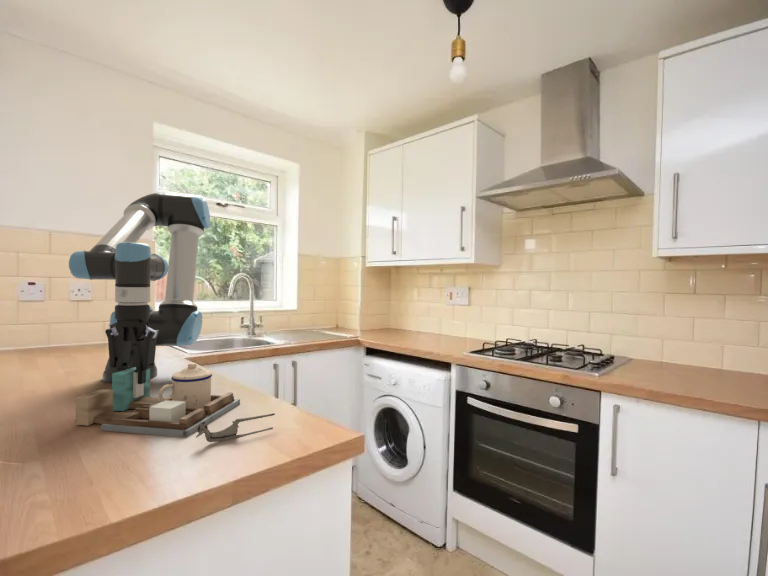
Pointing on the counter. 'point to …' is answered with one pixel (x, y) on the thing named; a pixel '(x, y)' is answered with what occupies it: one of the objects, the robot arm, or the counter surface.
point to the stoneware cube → (167, 411)
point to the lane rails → (169, 431)
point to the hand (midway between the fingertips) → (131, 395)
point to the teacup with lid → (190, 386)
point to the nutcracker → (227, 430)
